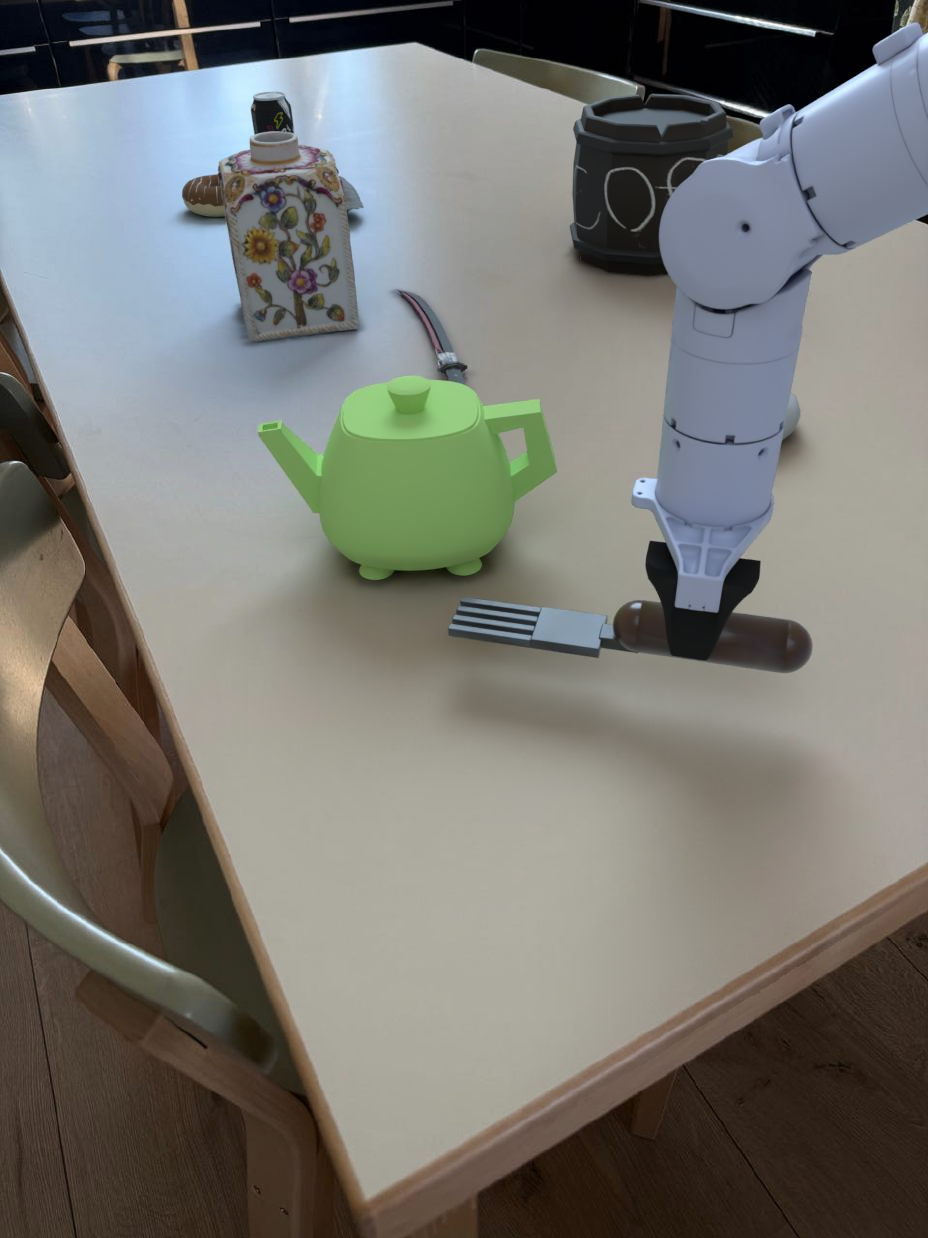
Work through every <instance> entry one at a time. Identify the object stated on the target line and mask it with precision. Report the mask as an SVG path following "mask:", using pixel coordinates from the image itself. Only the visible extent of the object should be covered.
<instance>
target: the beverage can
mask: <svg viewBox="0 0 928 1238" xmlns="http://www.w3.org/2000/svg"><path fill="white" fill-rule="evenodd" d="M252 99H253V101H252V104H251V106H250V115H251V122H252V127H253V135H255V134H259V133H263V132H273V131H279V132H289V133H293V134H295V126H294V118H293V111H292V105H291V104H290V102H289V100H287V98H286V93H285V92H282V91H264V92H258V93H254V94H253V95H252ZM295 135H296V134H295Z"/></svg>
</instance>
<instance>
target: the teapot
mask: <svg viewBox="0 0 928 1238" xmlns="http://www.w3.org/2000/svg"><path fill="white" fill-rule="evenodd" d="M518 429H523V432H524V440H525V445H526V452H524V453H522V454H521V455H519V456H518V457H517V458H515V459H513V460H512V461H510V460H509V456H508V454H507V451H506V448H505V445H504V442H503V440H502V437H501V436H500V434H501V433H505V432H510V431H514V430H518ZM257 434H258V437H259V438H260V440H261V441H262V443H263V444H264V445H265V447H266V449H267V450H268V451H269V452H270V454H271V456H273V458H274V460H275V462H277V464H278V465H279V467H280V469H282V471H283V472H284V474H285V475H286V477H287V478H288V479H289V481H290V483H291V484H292V485H293V486H294V488H295V489H296V490H297V492H298V493H299V495H300V496H301V498H302V499H303V501H304V502H305V503H306V504H307V506H308V507H309V509H310V510H311V511H312V513H313V514H319V520H320V525H321V528H322V532H323V534H324V536H325V538H326V539H327V540H328V542H329V543H330V544H331V545H332V546H333V548H335V549H336V550H337V551H338V552H339V553H340V554H342V556H344V557H346V558H347V559H348V560H349V561H352V562H353V563H356V564H359V566H360V567H359V569H358V573H359V575H360V576H361V577H362V578H364V579H367V580H370V581H379V580H384V579H387V578H389V577H390V576H392V575H393V573H394V572H395V571H407V572H408V571H427V570H436V569H443V568H446V569H447V571H448V572H449V573H451V574H453V575H456V576H471V575H473V574H476V573H478V572H479V571H480V570H481V568H482V566H483V563H482V561H481V559H480V558H482V557H484V556H486V555H487V554H489V553H490V552H492V550H493V549H494V548H496V546H497V545H498V544H499V543H500V542H501V541H502V539H503V538H504V536H505V535H506V534H507V532H508V531H509V529H510V527H511V525H512V521H513V517H514V513H515V504H516V503H515V502H517V501H518V500H520V499H521V498H523V497H524V496H525V495H527V494H528V493H530V492H531V491H532V490H534V489H535V488H538V486H540V485H541V484H543V483H545V482H546V481H547V480H548V479H550V478H551V477H553V476H554V475H555V474H557V473H558V468H557V467H558V466H557V461H556V460H557V459H556V455H555V452H554V448H553V445H552V441H551V437H550V433H549V430H548V426H547V423H546V418H545V415H544V411H543V407H542V404H541V400H540V398H535V399H534V398H533V399H528V400H527V399H526V400H519V401H512V402H504V403H497V404H489V405H484V403H483V402H482V400H481V399H480V397H479V396H478V394H477V393H476V391H475V390H474V389H472V388H471V387H470V386H468V385H463V384H460V383H456V382H451V381H448V380H441V379H428V378H427V377H424V376H421V375H402V376H398V377H395V378H393V379H391V380H389V381H386V382H380V383H375V384H374V383H373V384H370V385H366V386H363V387H360V388H358V389H355V390H353V391H352V392H351V393H350V394H349V395H347V397H346V398H345V400H344V401H343V403H342V406H341V407H340V410H339V412H338V414H337V417H336V419H335V422H334V424H333V427H332V429H331V432H330V434H329V437H328V439H327V442H326V447H325V450H324V453H323V454H322V453H321V454H320V453H317V452H316V451H315V450H314V449H313V448H311V446H309V444H307V443H306V442H305V441H304V440H302V438H300V437H299V436H298V435H297V434H296V433H295V432H293V430H291V429H290V428H289V427H288V426H287V425H285V424H284V421H283V420H282V419H281V420H273V421H267V422H260V423H258V429H257Z"/></svg>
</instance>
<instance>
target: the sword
mask: <svg viewBox="0 0 928 1238" xmlns="http://www.w3.org/2000/svg"><path fill="white" fill-rule="evenodd" d="M397 291H398V292H399V294H400V295H401V296H402V297H404V298H405V300H407V301H408V302H409V303H410V304H411V305H412V306H413V308H414V309H415V311H416V313H417V314H418V315H419V317H420V318H421V320H422V322H423V324H424V326H425V328H426V330H427V332H428V334H429V337H430V339H431V342H432V345H433V347H434V351H435V354H436V357H437V360H436V361H437V366H438V367H437V372H438V373H441V374H443V375H446V378H447V381H451V382H456V383H460V384H463V385H466V381H465V379H464V378H465V377H464V375H463V372H465V371H466V370H468V364H465V363H463V362H461V361H459V359H458V357H457V355H456V353H455V351H454V349H453V346H452V344H451V342H450V340H449V337H448V335H447V332H446V331H445V328H444V327H443V325H442V323H441V321H440V320H439V318H438V316H437V314H436V312H434V311H433V309H432V308H431V306H430V305H429V303H427V301H425V299H424V298H422V297H421V296H420V295H418V294H415V293H413V292H409V291H405V290H401V289H397ZM466 386H467V385H466Z"/></svg>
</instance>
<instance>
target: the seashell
mask: <svg viewBox="0 0 928 1238" xmlns="http://www.w3.org/2000/svg"><path fill="white" fill-rule="evenodd" d="M338 176H339V178H340V179H341V180H342V183H343V189H344V194H345V198H346V208H347V212H349V211H351V210H359V209H364V204H363V202H362V201H361V197H360V195H359V192H358V191H357V189H356V188H355V187H354V185H352V183H350V182H349V181H348V180H347V179H346V178H345V177H343V176H341V175H338Z"/></svg>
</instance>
